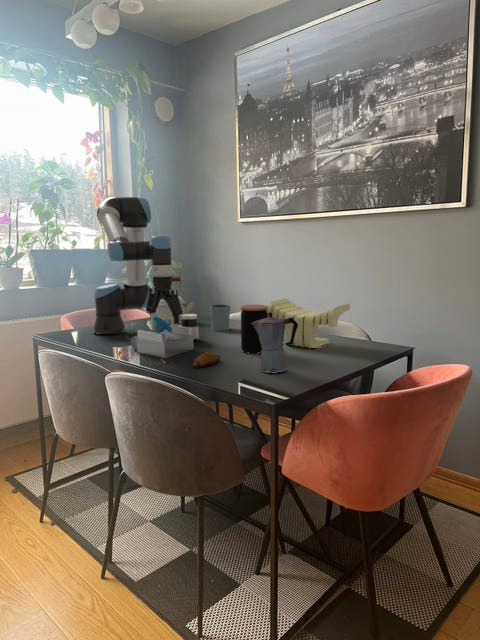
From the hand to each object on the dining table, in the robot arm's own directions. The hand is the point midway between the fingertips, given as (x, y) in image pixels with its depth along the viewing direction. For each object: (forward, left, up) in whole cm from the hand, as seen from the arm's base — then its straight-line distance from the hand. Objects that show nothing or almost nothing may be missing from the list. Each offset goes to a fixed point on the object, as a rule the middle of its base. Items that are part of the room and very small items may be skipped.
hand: (164, 330), depth 188 cm
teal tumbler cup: (-11, +48, -9) cm, 50 cm away
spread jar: (-7, +19, -9) cm, 22 cm away
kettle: (-46, +49, -9) cm, 68 cm away
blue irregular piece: (0, 0, -2) cm, 2 cm away
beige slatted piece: (+42, +41, -9) cm, 59 cm away
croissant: (+28, -6, -9) cm, 30 cm away
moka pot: (+52, +1, -9) cm, 53 cm away
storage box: (-3, 0, -9) cm, 10 cm away
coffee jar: (+30, +20, -9) cm, 37 cm away
